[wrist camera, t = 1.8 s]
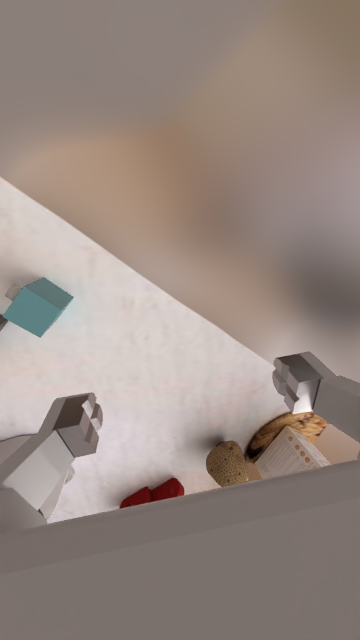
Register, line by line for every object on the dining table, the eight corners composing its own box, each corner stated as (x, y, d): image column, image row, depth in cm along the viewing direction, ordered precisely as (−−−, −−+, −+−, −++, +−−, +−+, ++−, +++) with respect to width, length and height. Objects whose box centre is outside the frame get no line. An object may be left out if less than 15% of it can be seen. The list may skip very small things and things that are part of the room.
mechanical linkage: (134, 513, 57) (134, 537, 53) (119, 501, 55) (118, 525, 50) (185, 483, 58) (190, 504, 53) (173, 469, 55) (177, 490, 50)
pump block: (56, 320, 36) (40, 337, 29) (16, 296, 33) (-11, 309, 27) (74, 297, 35) (61, 310, 29) (35, 271, 33) (11, 279, 26)
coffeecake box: (270, 468, 63) (324, 559, 45) (252, 463, 60) (303, 557, 42) (302, 431, 60) (375, 512, 42) (285, 424, 57) (355, 507, 40)
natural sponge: (198, 460, 55) (212, 504, 46) (203, 433, 52) (218, 475, 43) (231, 455, 57) (250, 496, 48) (237, 430, 54) (259, 468, 45)
